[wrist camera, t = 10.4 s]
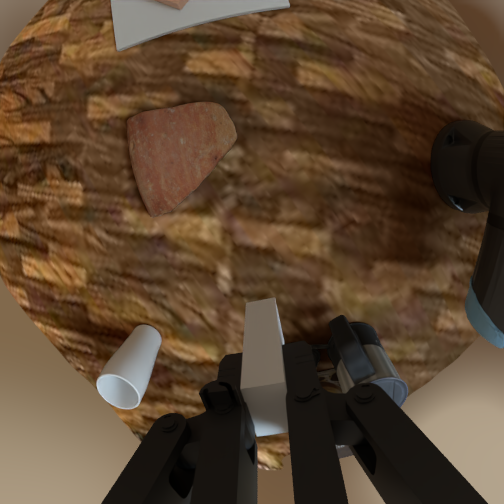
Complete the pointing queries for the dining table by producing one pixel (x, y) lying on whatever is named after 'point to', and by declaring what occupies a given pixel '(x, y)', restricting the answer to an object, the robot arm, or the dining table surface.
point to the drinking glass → (130, 368)
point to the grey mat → (176, 16)
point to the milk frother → (361, 359)
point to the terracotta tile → (174, 3)
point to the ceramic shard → (177, 151)
